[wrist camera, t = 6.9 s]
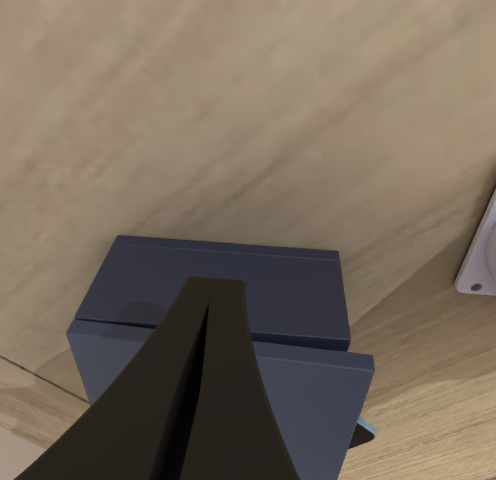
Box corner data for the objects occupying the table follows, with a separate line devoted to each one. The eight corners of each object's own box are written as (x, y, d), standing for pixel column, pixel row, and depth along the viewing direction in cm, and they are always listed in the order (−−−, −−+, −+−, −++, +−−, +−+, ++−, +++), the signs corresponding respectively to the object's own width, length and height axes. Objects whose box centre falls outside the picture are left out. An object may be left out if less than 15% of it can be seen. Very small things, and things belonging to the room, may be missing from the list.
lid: (373, 354, 17) (375, 371, 17) (321, 513, 27) (321, 527, 26) (73, 318, 18) (64, 333, 18) (126, 483, 28) (121, 497, 27)
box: (338, 250, 22) (351, 339, 18) (305, 415, 32) (307, 500, 27) (117, 234, 23) (73, 317, 18) (149, 401, 32) (126, 483, 28)
